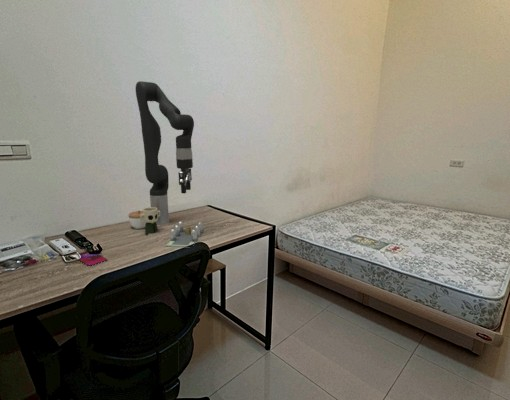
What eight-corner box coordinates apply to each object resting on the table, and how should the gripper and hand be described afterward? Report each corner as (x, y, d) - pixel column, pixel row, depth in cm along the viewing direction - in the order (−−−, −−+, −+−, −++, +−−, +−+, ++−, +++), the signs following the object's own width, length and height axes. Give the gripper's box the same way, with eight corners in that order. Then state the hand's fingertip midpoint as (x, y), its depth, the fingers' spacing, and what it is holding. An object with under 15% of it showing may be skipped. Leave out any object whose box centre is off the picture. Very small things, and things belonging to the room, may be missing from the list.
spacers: (169, 241, 138) (169, 229, 137) (179, 230, 152) (178, 220, 151) (196, 241, 138) (195, 230, 136) (203, 231, 152) (203, 221, 151)
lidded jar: (127, 226, 161) (125, 209, 159) (147, 223, 168) (145, 207, 165) (132, 231, 153) (131, 214, 151) (153, 228, 159) (152, 211, 157)
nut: (185, 235, 146) (184, 229, 145) (185, 232, 150) (185, 226, 149) (193, 235, 147) (193, 229, 146) (193, 232, 151) (193, 226, 150)
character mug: (145, 237, 145) (143, 212, 142) (138, 234, 149) (136, 209, 146) (164, 232, 153) (163, 208, 150) (157, 229, 157) (156, 205, 154)
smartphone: (88, 266, 113) (71, 255, 122) (88, 268, 113) (71, 257, 122) (108, 259, 119) (90, 249, 128) (108, 261, 119) (90, 251, 128)
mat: (165, 248, 132) (165, 245, 132) (181, 230, 155) (181, 228, 155) (192, 249, 131) (191, 246, 131) (203, 231, 155) (203, 228, 154)
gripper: (180, 156, 147) (182, 188, 150) (171, 159, 133) (174, 194, 136) (195, 156, 146) (197, 188, 150) (188, 159, 133) (190, 194, 136)
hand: (186, 191), depth 143 cm, fingers open, 8 cm apart
